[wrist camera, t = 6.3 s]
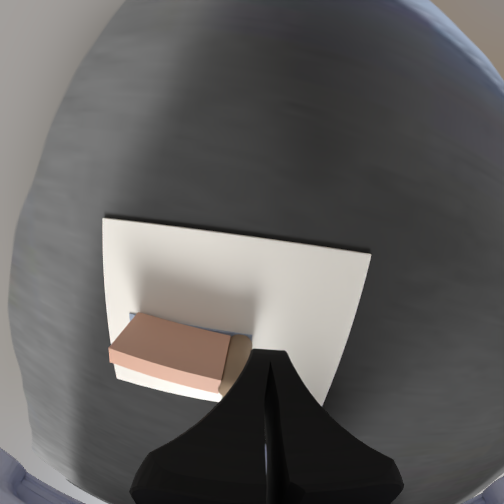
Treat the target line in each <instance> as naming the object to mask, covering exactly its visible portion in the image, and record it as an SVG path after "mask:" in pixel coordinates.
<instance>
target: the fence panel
mask: <svg viewBox="0 0 504 504" xmlns="http://www.w3.org/2000/svg"><path fill="white" fill-rule="evenodd" d="M230 337H231V336H230V335H226V334H221V333H217V332H212V331H208V330H204V329H200V328H196V327H192V326H188V325H184V324H180V323H176V322H172V321H169V320H165V319H161V318H158V317H154V316H151V315H147V314H144V313H140V312H138V313H137V314H136V315H135V316H134V317H133V319H132V320H131V321H130V322H129V323H128V325H127V326H126V327H125V328H124V330H123V331H122V332H121V333H120V334H119V336H118V337H117V338H116V339H115V341H114V342H113V343H112V344H111V346H110V347H109V358H110V362H111V363H114V364H117V365H119V366H122V367H125V368H128V369H131V370H134V371H137V372H140V373H143V374H146V375H149V376H152V377H156V378H159V379H162V380H166V381H169V382H173V383H176V384H180V385H184V386H188V387H191V388H195V389H200V390H204V391H208V392H212V393H217V394H218V393H220V394H221V395H222V396H223V397H224V396H225V395H226V393H227V392H228V391H229V389H230V388H231V387H232V385H233V384H234V383H235V381H236V380H237V378H238V377H239V375H240V373H241V372H242V370H243V368H244V366H245V364H246V362H247V360H248V358H249V355H250V351H251V350H252V341H251V340H250V338H248V337H247V336H245V335H241V334H237V335H234V336H232V337H231V338H230Z"/></svg>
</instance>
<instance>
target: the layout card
mask: <svg viewBox="0 0 504 504" xmlns="http://www.w3.org/2000/svg"><path fill="white" fill-rule="evenodd" d="M370 259H371V254H369V253H363V252H356V251H350V250H343V249H337V248H330V247H323V246H317V245H310V244H303V243H296V242H289V241H282V240H275V239H268V238H261V237H254V236H246V235H239V234H232V233H224V232H217V231H209V230H202V229H194V228H186V227H178V226H170V225H162V224H154V223H146V222H138V221H130V220H121V219H113V218H103V266H104V284H105V297H106V308H107V317H108V326H109V333H110V341H111V344H112V343H113V342H114V341H115V339H116V338H117V337H118V336H119V334H120V333H121V332H122V331H123V330H124V328H125V327H126V326H127V325H128V323H129V322H130V321H131V320H132V319H133V317H134V316H135V315H136V314H137V313H138V312H140V313H144V314H147V315H151V316H154V317H158V318H161V319H165V320H169V321H172V322H176V323H180V324H184V325H188V326H192V327H196V328H200V329H204V330H208V331H212V332H217V333H221V334H226V335H230V336H231V337H232V336H234V335H237V334H241V335H245V336H247V337H248V338H250V340H251V341H252V349H254V348H255V349H269V350H285V351H286V352H287V353H288V355H289V358H290V360H291V362H292V364H293V366H294V368H295V369H296V371H297V373H298V375H299V376H300V378H301V379H302V381H303V382H304V384H305V386H306V387H307V388H308V390H309V391H310V393H311V394H312V395H313V397H314V398H315V399H316V401H317V402H318V403H319V404H320V405H321V406H322V405H323V403H324V401H325V398H326V396H327V393H328V391H329V388H330V386H331V383H332V381H333V378H334V375H335V373H336V370H337V367H338V365H339V362H340V359H341V356H342V353H343V351H344V348H345V345H346V342H347V339H348V336H349V333H350V330H351V327H352V323H353V320H354V317H355V314H356V310H357V307H358V304H359V300H360V297H361V293H362V290H363V286H364V282H365V278H366V275H367V271H368V267H369V263H370ZM231 337H230V338H231ZM114 365H115V371H116V376H117V379H121V380H124V381H127V382H131V383H134V384H138V385H142V386H145V387H149V388H153V389H157V390H161V391H165V392H170V393H174V394H179V395H183V396H188V397H193V398H198V399H204V400H209V401H215V402H220V401H221V399H222V397H223V396H222V395H221V394H220V393H218V394H217V393H212V392H208V391H204V390H200V389H195V388H191V387H188V386H184V385H180V384H176V383H173V382H169V381H166V380H162V379H159V378H156V377H152V376H149V375H146V374H143V373H140V372H137V371H134V370H131V369H128V368H125V367H122V366H119V365H117V364H114Z"/></svg>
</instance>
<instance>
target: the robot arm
mask: <svg viewBox="0 0 504 504" xmlns="http://www.w3.org/2000/svg"><path fill="white" fill-rule="evenodd" d="M264 421H265V431H264ZM265 435H266V444H265ZM403 487H404V484H403V481H402V477H401V475H400V472H399V470H398V468H397V466H396V464H395V462H394V460H393V459H391V458H389V457H387V456H385V455H383V454H382V453H380V452H378V451H376V450H374V449H372V448H370V447H369V446H367V445H366V444H364V443H363V442H361V441H360V440H358V439H357V438H355V437H354V436H353V435H351V434H350V433H349V432H348V431H347V430H345V429H344V428H343V427H342V426H340V425H339V424H338V423H337V422H336V421H335V420H334V419H333V418H332V417H331V416H330V415H329V414H328V413H327V412H326V411H325V410H324V409H323V408H322V406H321V405H320V404H319V403H318V402H317V401H316V399H315V398H314V397H313V395H312V394H311V393H310V391H309V390H308V388H307V387H306V386H305V384H304V382H303V381H302V379H301V378H300V376H299V375H298V373H297V371H296V369H295V368H294V366H293V364H292V362H291V360H290V358H289V355H288V353H287V352H286V351H285V350H269V349H255V348H254V349H252V350H251V351H250V355H249V358H248V360H247V362H246V364H245V366H244V368H243V370H242V372H241V373H240V375H239V377H238V378H237V380H236V381H235V383H234V384H233V385H232V387H231V388H230V389H229V391H228V392H227V393H226V395H225V396H224V397H223V398H222V399H221V401H220V402H219V403H218V404H217V405H216V406H215V407H214V408H213V409H212V410H211V411H210V412H209V413H208V414H207V415H206V416H205V417H203V418H202V419H201V420H200V421H199V422H198V423H196V424H195V425H194V426H193V427H191V428H190V429H188V430H187V431H186V432H184V433H183V434H181V435H180V436H178V437H177V438H175V439H174V440H172V441H170V442H169V443H167V444H165V445H163V446H161V447H159V448H157V449H156V450H154V451H152V452H150V453H149V454H148V455H147V457H146V458H145V460H144V461H143V462H142V464H141V466H140V467H139V469H138V471H137V473H136V475H135V477H134V480H133V483H132V485H131V488H130V491H129V492H130V495H131V497H132V498H133V500H134V501H135V503H136V504H390V503H391V502H392V501H393V500H394V499H395V498H396V497H397V496H398V495H399V494H400V493H401V491H402V490H403ZM0 504H85V503H82V502H80V501H78V500H76V499H74V498H72V497H70V496H68V495H66V494H63V493H62V492H60V491H58V490H56V489H55V488H53V487H51V486H49V485H47V484H46V483H44V482H42V481H41V480H39V479H37V478H36V477H34V476H32V475H31V474H29V473H28V472H26V470H25V469H24V467H23V466H22V465H21V464H20V463H19V462H18V461H17V460H16V459H15V458H14V457H12V456H11V455H10V454H8V453H7V452H5V451H4V450H3V449H1V448H0ZM461 504H504V476H503V477H501V478H499V479H498V480H496V481H495V482H494V483H492V484H491V485H490V486H488V488H486V489H485V490H484V491H483V493H481V494H480V495H478V496H476V497H474V498H472V499H470V500H468V501H466V502H463V503H461Z"/></svg>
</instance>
